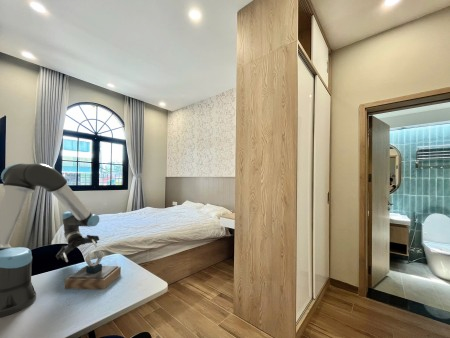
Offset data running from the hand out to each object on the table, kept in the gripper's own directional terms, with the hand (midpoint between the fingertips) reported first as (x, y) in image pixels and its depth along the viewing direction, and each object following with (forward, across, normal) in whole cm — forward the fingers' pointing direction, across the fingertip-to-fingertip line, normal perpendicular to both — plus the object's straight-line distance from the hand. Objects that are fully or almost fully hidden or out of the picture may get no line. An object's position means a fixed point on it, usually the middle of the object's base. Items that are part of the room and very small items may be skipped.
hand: (81, 252), depth 106 cm
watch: (+9, -1, -9) cm, 13 cm away
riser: (+10, 0, -14) cm, 17 cm away
